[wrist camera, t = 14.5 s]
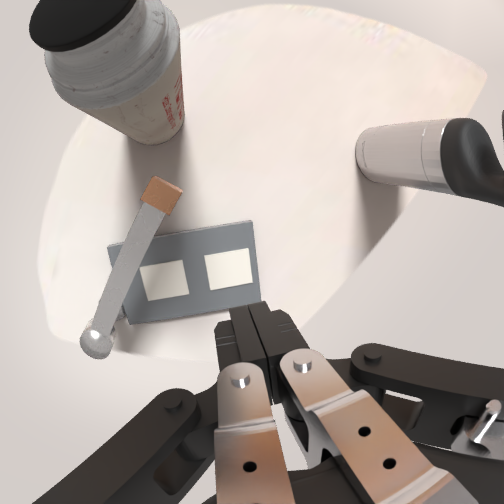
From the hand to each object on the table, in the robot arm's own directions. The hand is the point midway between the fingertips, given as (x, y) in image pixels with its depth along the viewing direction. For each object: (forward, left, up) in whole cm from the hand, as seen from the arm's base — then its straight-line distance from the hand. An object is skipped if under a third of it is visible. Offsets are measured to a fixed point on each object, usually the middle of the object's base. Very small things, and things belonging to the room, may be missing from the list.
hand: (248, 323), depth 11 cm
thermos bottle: (+5, -15, -27) cm, 32 cm away
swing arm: (+10, +3, -20) cm, 23 cm away
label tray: (+4, +7, -27) cm, 28 cm away
